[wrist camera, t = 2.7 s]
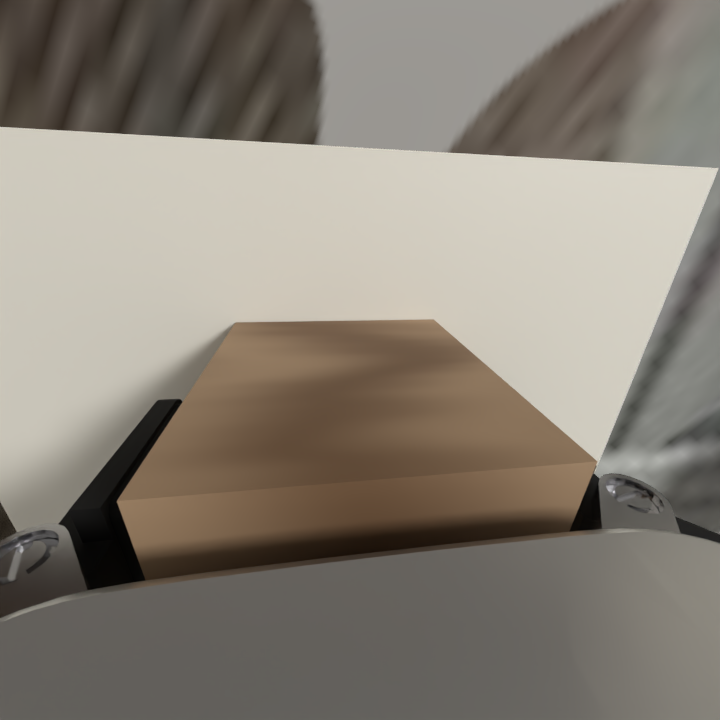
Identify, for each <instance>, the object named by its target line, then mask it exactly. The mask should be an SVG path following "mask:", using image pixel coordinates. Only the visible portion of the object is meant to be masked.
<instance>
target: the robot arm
mask: <svg viewBox="0 0 720 720" xmlns="http://www.w3.org/2000/svg"><path fill="white" fill-rule="evenodd" d="M181 404H182V400H181V399H163V400H157V401H156V402H155V404H154V405H153V406H152V407H151V409H150V410H149V411H148V412H147V414H146V415H145V416H144V417H143V419H142V420H141V421H140V422H139V424H138V425H137V426H136V427H135V428H134V430H133V431H132V432H131V433H130V435H129V436H128V437H127V438H126V440H125V441H124V442H123V443H122V445H121V446H120V447H119V448H118V450H117V451H116V452H115V453H114V455H113V456H112V457H111V458H110V460H109V461H108V462H107V463H106V464H105V466H104V467H103V468H102V469H101V471H100V472H99V473H98V474H97V476H96V477H95V478H94V479H93V481H92V482H91V483H90V484H89V486H88V487H87V488H86V489H85V491H84V492H83V493H82V494H81V496H80V497H79V498H78V499H77V500H76V502H75V503H74V504H73V505H72V507H71V508H70V509H69V510H68V512H67V513H66V515H65V516H64V517H63V518H62V520H61V521H60V522H59V523H58V524H42V525H37V526H33V527H29V528H27V529H24V530H22V531H19V532H16V533H14V534H13V535H11V536H9V537H7V538H5V539H3V540H1V541H0V720H720V534H717V533H714V532H712V531H709V530H707V529H704V528H702V527H699V526H697V525H694V524H692V523H689V522H687V521H684V520H682V519H679V518H677V517H675V515H674V512H673V509H672V507H671V505H670V503H669V501H668V500H667V499H666V498H665V497H664V496H663V495H662V494H661V493H660V492H658V491H657V490H656V489H654V488H653V487H651V486H650V485H648V484H646V483H644V482H642V481H640V480H637V479H635V478H632V477H630V476H626V475H622V474H612V473H611V474H605V475H603V476H602V477H600V479H599V478H598V477H597V476H596V475H595V474H594V472H595V469H596V467H597V466H596V467H595V469H594V471H593V474H592V476H591V479H590V481H589V484H588V486H587V489H586V491H585V494H584V496H583V499H582V501H581V504H580V506H579V509H578V511H577V514H576V516H575V518H574V521H573V523H572V526H571V528H570V531H569V532H561V533H549V534H538V535H528V536H519V537H509V538H500V539H491V540H481V541H472V542H463V543H453V544H444V545H435V546H426V547H417V548H408V549H400V550H391V551H382V552H373V553H364V554H356V555H347V556H338V557H329V558H321V559H312V560H304V561H296V562H287V563H279V564H270V565H262V566H254V567H245V568H237V569H228V570H220V571H212V572H205V573H197V574H190V575H182V576H175V577H168V578H160V579H153V580H145V577H144V574H143V572H142V569H141V566H140V563H139V561H138V558H137V555H136V553H135V550H134V547H133V544H132V542H131V539H130V536H129V533H128V531H127V528H126V525H125V523H124V520H123V517H122V514H121V512H120V509H119V506H118V503H117V500H118V498H119V497H120V495H121V494H122V492H123V491H124V489H125V488H126V486H127V485H128V483H129V482H130V480H131V479H132V477H133V476H134V474H135V473H136V471H137V470H138V468H139V467H140V465H141V464H142V462H143V461H144V459H145V458H146V456H147V455H148V453H149V452H150V450H151V449H152V447H153V446H154V444H155V443H156V441H157V440H158V438H159V437H160V435H161V434H162V432H163V431H164V429H165V428H166V426H167V425H168V423H169V422H170V420H171V419H172V417H173V416H174V414H175V413H176V411H177V410H178V408H179V407H180V405H181Z"/></svg>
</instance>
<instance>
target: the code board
mask: <svg viewBox="0 0 720 720" xmlns="http://www.w3.org/2000/svg"><path fill="white" fill-rule="evenodd" d="M718 169H719V168H704V167H687V166H669V165H652V164H634V163H617V162H600V161H582V160H565V159H547V158H530V157H513V156H495V155H478V154H460V153H443V152H425V151H407V150H390V149H374V148H373V149H371V148H356V147H339V146H338V147H337V146H321V145H304V144H287V143H269V142H252V141H234V140H217V139H200V138H182V137H165V136H147V135H130V134H113V133H95V132H78V131H60V130H43V129H26V128H8V127H0V503H1V504H2V506H3V508H4V510H5V511H6V513H7V515H8V517H9V519H10V520H11V522H12V524H13V526H14V528H15V529H16V531H17V532H19V531H22V530H24V529H27V528H29V527H33V526H37V525H42V524H58V523H59V522H60V521H61V520H62V518H63V517H64V516H65V515H66V513H67V512H68V510H69V509H70V508H71V507H72V505H73V504H74V503H75V502H76V500H77V499H78V498H79V497H80V496H81V494H82V493H83V492H84V491H85V489H86V488H87V487H88V486H89V484H90V483H91V482H92V481H93V479H94V478H95V477H96V476H97V474H98V473H99V472H100V471H101V469H102V468H103V467H104V466H105V464H106V463H107V462H108V461H109V460H110V458H111V457H112V456H113V455H114V453H115V452H116V451H117V450H118V448H119V447H120V446H121V445H122V443H123V442H124V441H125V440H126V438H127V437H128V436H129V435H130V433H131V432H132V431H133V430H134V428H135V427H136V426H137V425H138V424H139V422H140V421H141V420H142V419H143V417H144V416H145V415H146V414H147V412H148V411H149V410H150V409H151V407H152V406H153V405H154V404H155V402H156V401H157V400H163V399H181V400H182V402H183V401H184V399H185V398H186V396H187V395H188V393H189V392H190V390H191V389H192V387H193V386H194V384H195V383H196V381H197V380H198V378H199V377H200V375H201V374H202V372H203V371H204V369H205V368H206V366H207V365H208V363H209V362H210V360H211V359H212V357H213V356H214V354H215V353H216V351H217V350H218V348H219V347H220V345H221V344H222V342H223V341H224V339H225V338H226V336H227V335H228V333H229V332H230V330H231V329H232V327H233V326H234V324H235V323H236V322H295V321H361V320H427V319H434V320H435V321H436V322H437V323H438V324H440V325H441V326H442V327H443V328H444V329H445V330H447V331H448V332H449V333H450V334H451V335H452V336H453V337H455V338H456V339H457V340H458V341H459V342H460V343H462V344H463V345H464V346H465V347H466V348H467V349H468V350H470V351H471V352H472V353H473V354H474V355H475V356H477V357H478V358H479V359H480V360H481V361H482V362H483V363H485V364H486V365H487V366H488V367H489V368H490V369H492V370H493V371H494V372H495V373H496V374H497V375H498V376H500V377H501V378H502V379H503V380H504V381H505V382H507V383H508V384H509V385H510V386H511V387H512V388H513V389H515V390H516V391H517V392H518V393H519V394H520V395H521V396H523V397H524V398H525V399H526V400H527V401H528V402H530V403H531V404H532V405H533V406H534V407H535V408H536V409H538V410H539V411H540V412H541V413H542V414H543V415H545V416H546V417H547V418H548V419H549V420H550V421H551V422H553V423H554V424H555V425H556V426H557V427H558V428H560V429H561V430H562V431H563V432H564V433H565V434H566V435H568V436H569V437H570V438H571V439H572V440H573V441H575V442H576V443H577V444H578V445H579V446H580V447H581V448H583V449H584V450H585V451H586V452H587V453H588V454H590V455H591V456H592V457H593V458H594V459H595V460H596V461H598V462H597V464H596V466H598V463H599V461H600V459H601V456H602V454H603V451H604V449H605V446H606V444H607V441H608V439H609V436H610V434H611V432H612V429H613V427H614V424H615V422H616V419H617V417H618V414H619V412H620V409H621V407H622V405H623V402H624V400H625V397H626V395H627V392H628V390H629V387H630V385H631V382H632V380H633V377H634V375H635V373H636V370H637V368H638V365H639V363H640V360H641V358H642V355H643V353H644V350H645V348H646V346H647V343H648V341H649V338H650V336H651V333H652V331H653V328H654V326H655V323H656V321H657V319H658V316H659V314H660V311H661V309H662V306H663V304H664V301H665V299H666V296H667V294H668V292H669V289H670V287H671V284H672V282H673V279H674V277H675V274H676V272H677V269H678V267H679V264H680V262H681V260H682V257H683V255H684V252H685V250H686V247H687V245H688V242H689V240H690V237H691V235H692V233H693V230H694V228H695V225H696V223H697V220H698V218H699V215H700V213H701V210H702V208H703V206H704V203H705V201H706V198H707V196H708V193H709V191H710V188H711V186H712V183H713V181H714V179H715V176H716V174H717V171H718ZM596 468H597V467H596ZM595 471H596V469H595ZM594 473H595V472H594Z"/></svg>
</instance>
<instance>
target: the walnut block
mask: <svg viewBox="0 0 720 720" xmlns="http://www.w3.org/2000/svg"><path fill="white" fill-rule="evenodd" d="M597 462H598V461H596V460H595V459H594V458H593V457H592V456H591V455H590V454H588V453H587V452H586V451H585V450H584V449H583V448H581V447H580V446H579V445H578V444H577V443H576V442H575V441H573V440H572V439H571V438H570V437H569V436H568V435H566V434H565V433H564V432H563V431H562V430H561V429H560V428H558V427H557V426H556V425H555V424H554V423H553V422H551V421H550V420H549V419H548V418H547V417H546V416H545V415H543V414H542V413H541V412H540V411H539V410H538V409H536V408H535V407H534V406H533V405H532V404H531V403H530V402H528V401H527V400H526V399H525V398H524V397H523V396H521V395H520V394H519V393H518V392H517V391H516V390H515V389H513V388H512V387H511V386H510V385H509V384H508V383H507V382H505V381H504V380H503V379H502V378H501V377H500V376H498V375H497V374H496V373H495V372H494V371H493V370H492V369H490V368H489V367H488V366H487V365H486V364H485V363H483V362H482V361H481V360H480V359H479V358H478V357H477V356H475V355H474V354H473V353H472V352H471V351H470V350H468V349H467V348H466V347H465V346H464V345H463V344H462V343H460V342H459V341H458V340H457V339H456V338H455V337H453V336H452V335H451V334H450V333H449V332H448V331H447V330H445V329H444V328H443V327H442V326H441V325H440V324H438V323H437V322H436V321H435V320H434V319H427V320H361V321H295V322H236V323H235V324H234V326H233V327H232V329H231V330H230V332H229V333H228V335H227V336H226V338H225V339H224V341H223V342H222V344H221V345H220V347H219V348H218V350H217V351H216V353H215V354H214V356H213V357H212V359H211V360H210V362H209V363H208V365H207V366H206V368H205V369H204V371H203V372H202V374H201V375H200V377H199V378H198V380H197V381H196V383H195V384H194V386H193V387H192V389H191V390H190V392H189V393H188V395H187V396H186V398H185V399H184V401H183V402H182V404H181V405H180V407H179V408H178V410H177V411H176V413H175V414H174V416H173V417H172V419H171V420H170V422H169V423H168V425H167V426H166V428H165V429H164V431H163V432H162V434H161V435H160V437H159V438H158V440H157V441H156V443H155V444H154V446H153V447H152V449H151V450H150V452H149V453H148V455H147V456H146V458H145V459H144V461H143V462H142V464H141V465H140V467H139V468H138V470H137V471H136V473H135V474H134V476H133V477H132V479H131V480H130V482H129V483H128V485H127V486H126V488H125V489H124V491H123V492H122V494H121V495H120V497H119V498H118V500H117V503H118V506H119V509H120V512H121V514H122V517H123V520H124V523H125V525H126V528H127V531H128V533H129V536H130V539H131V542H132V544H133V547H134V550H135V553H136V555H137V558H138V561H139V563H140V566H141V569H142V572H143V574H144V577H145V580H153V579H160V578H168V577H175V576H182V575H190V574H197V573H205V572H212V571H220V570H228V569H237V568H245V567H254V566H262V565H270V564H279V563H287V562H296V561H304V560H312V559H321V558H329V557H338V556H347V555H356V554H364V553H373V552H382V551H391V550H400V549H408V548H417V547H426V546H435V545H444V544H453V543H463V542H472V541H481V540H491V539H500V538H509V537H519V536H528V535H538V534H549V533H561V532H569V531H570V528H571V526H572V523H573V521H574V518H575V516H576V514H577V511H578V509H579V506H580V504H581V501H582V499H583V496H584V494H585V491H586V489H587V486H588V484H589V481H590V479H591V476H592V474H593V471H594V469H595V467H596V464H597Z"/></svg>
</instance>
